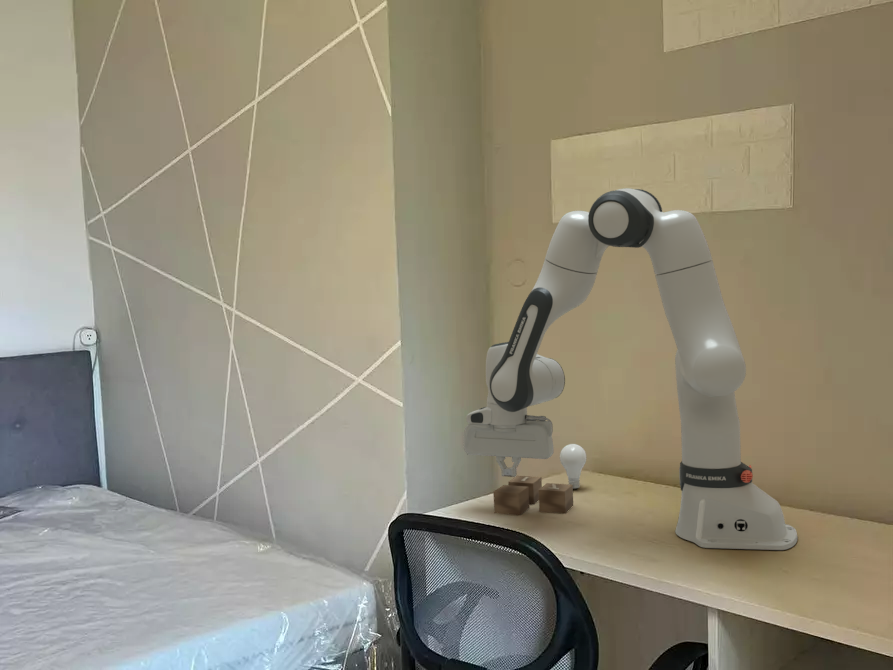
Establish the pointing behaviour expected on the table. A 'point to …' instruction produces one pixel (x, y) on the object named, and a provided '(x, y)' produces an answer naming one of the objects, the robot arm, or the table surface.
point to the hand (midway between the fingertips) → (509, 476)
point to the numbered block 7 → (555, 498)
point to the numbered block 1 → (530, 482)
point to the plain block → (511, 500)
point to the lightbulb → (573, 462)
